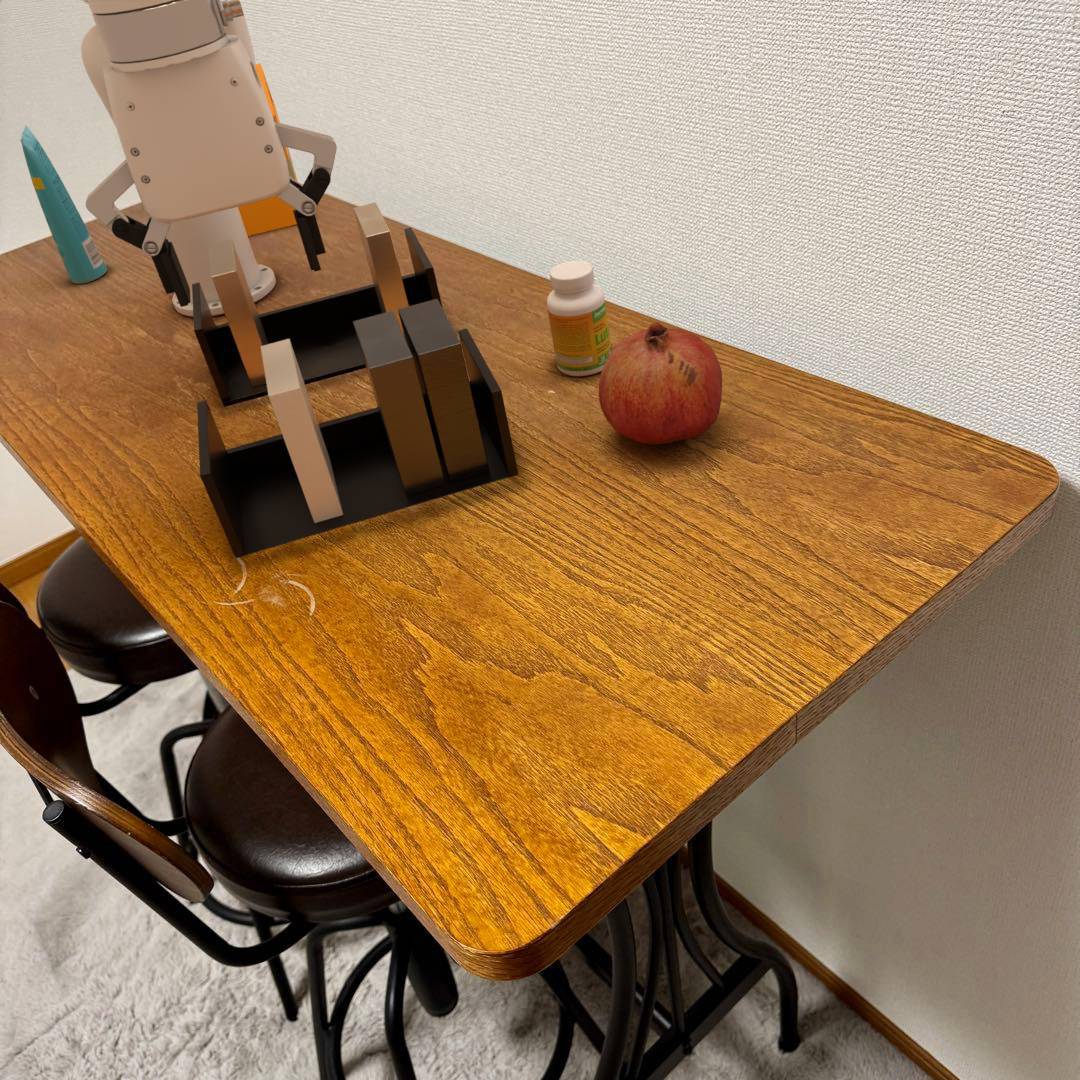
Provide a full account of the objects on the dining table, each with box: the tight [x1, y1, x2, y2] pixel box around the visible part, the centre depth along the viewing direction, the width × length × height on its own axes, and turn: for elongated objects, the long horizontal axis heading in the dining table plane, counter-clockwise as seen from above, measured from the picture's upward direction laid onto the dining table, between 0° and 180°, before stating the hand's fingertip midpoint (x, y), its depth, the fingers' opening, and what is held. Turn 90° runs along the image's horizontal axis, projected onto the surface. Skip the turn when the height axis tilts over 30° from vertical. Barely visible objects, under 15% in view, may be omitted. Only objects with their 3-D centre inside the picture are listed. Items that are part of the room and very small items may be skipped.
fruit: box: [598, 321, 723, 445], centre depth 86 cm, size 11×10×10 cm
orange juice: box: [238, 62, 299, 237], centre depth 141 cm, size 8×9×20 cm
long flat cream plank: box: [261, 339, 343, 523], centre depth 85 cm, size 2×9×12 cm, turn 16°
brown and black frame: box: [192, 202, 444, 408], centre depth 107 cm, size 24×12×13 cm, turn 106°
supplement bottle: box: [546, 260, 612, 377], centre depth 98 cm, size 5×5×10 cm
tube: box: [19, 125, 108, 284], centre depth 135 cm, size 7×5×19 cm, turn 23°
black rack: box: [196, 299, 519, 559], centre depth 86 cm, size 24×12×13 cm, turn 106°
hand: (250, 281), depth 77 cm, fingers open, 9 cm apart
